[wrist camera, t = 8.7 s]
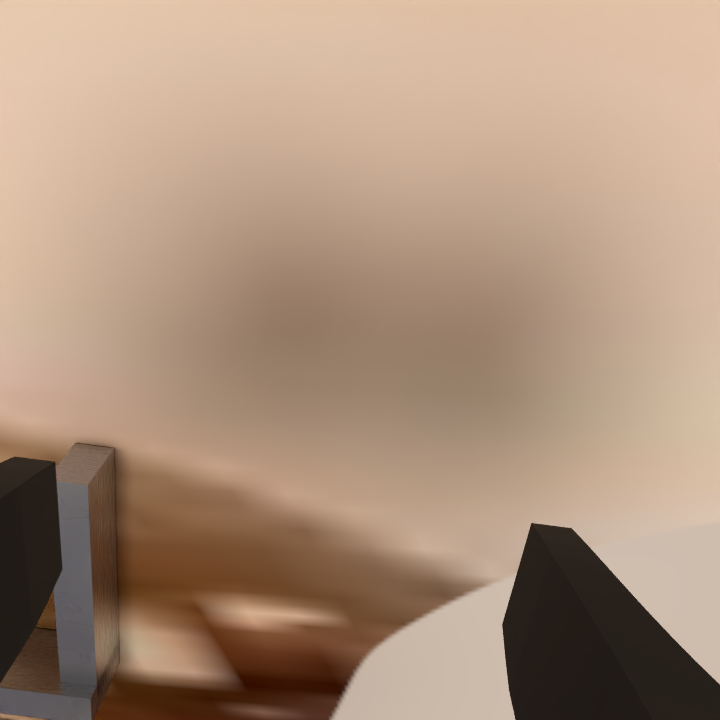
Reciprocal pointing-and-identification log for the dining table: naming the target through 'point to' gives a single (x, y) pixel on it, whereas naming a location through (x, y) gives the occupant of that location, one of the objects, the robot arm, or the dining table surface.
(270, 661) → the dining table surface
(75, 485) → the hub cradle
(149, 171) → the dining table surface
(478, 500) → the dining table surface
